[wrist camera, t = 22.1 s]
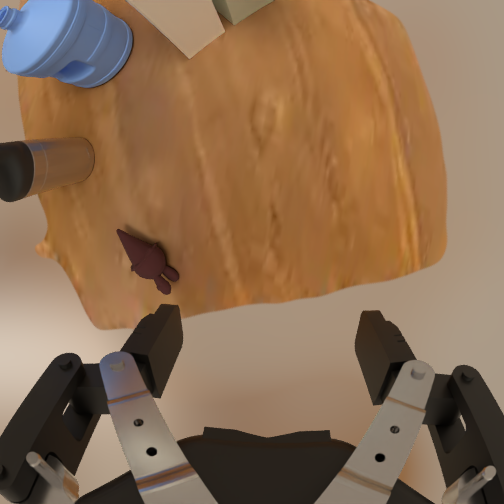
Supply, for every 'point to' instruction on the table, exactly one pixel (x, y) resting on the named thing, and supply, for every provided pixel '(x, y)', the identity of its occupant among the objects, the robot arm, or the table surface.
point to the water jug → (65, 41)
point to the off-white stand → (183, 22)
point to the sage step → (238, 8)
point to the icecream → (148, 261)
